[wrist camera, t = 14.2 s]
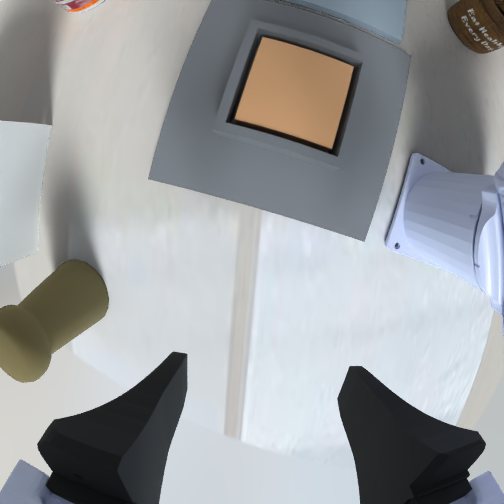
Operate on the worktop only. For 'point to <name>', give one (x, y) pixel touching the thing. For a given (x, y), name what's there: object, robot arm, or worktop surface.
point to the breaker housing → (273, 147)
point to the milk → (21, 187)
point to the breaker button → (294, 94)
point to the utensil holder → (479, 24)
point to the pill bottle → (78, 5)
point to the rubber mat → (365, 14)
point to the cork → (50, 319)
